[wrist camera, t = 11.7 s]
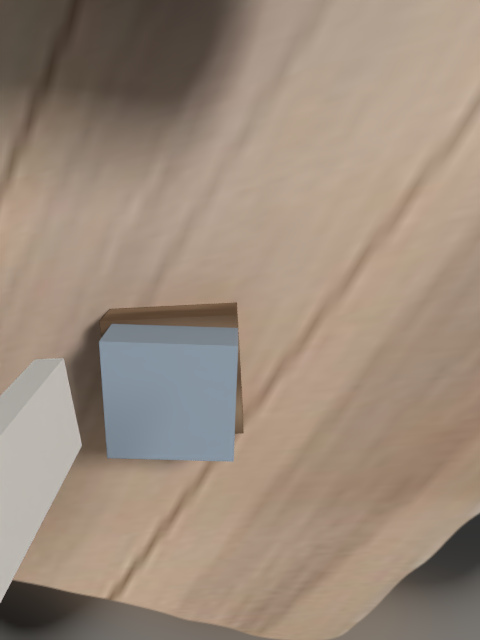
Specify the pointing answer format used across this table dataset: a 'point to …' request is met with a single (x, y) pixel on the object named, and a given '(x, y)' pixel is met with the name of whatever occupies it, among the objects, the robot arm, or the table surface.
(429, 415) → the table surface
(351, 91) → the table surface
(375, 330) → the table surface
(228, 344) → the top block
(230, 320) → the base block
